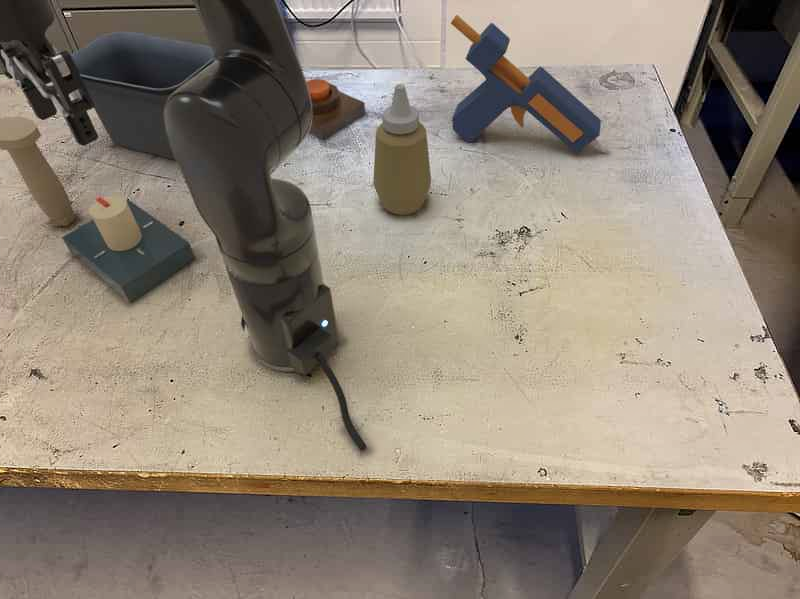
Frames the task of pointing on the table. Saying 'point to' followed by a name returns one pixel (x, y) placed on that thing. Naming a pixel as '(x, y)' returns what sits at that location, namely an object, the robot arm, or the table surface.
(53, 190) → the handle
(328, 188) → the table surface
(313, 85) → the button
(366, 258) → the table surface
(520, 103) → the glue gun
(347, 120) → the button block
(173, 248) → the dial panel
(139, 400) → the table surface
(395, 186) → the squeeze bottle
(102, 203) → the dial
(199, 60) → the storage bin
